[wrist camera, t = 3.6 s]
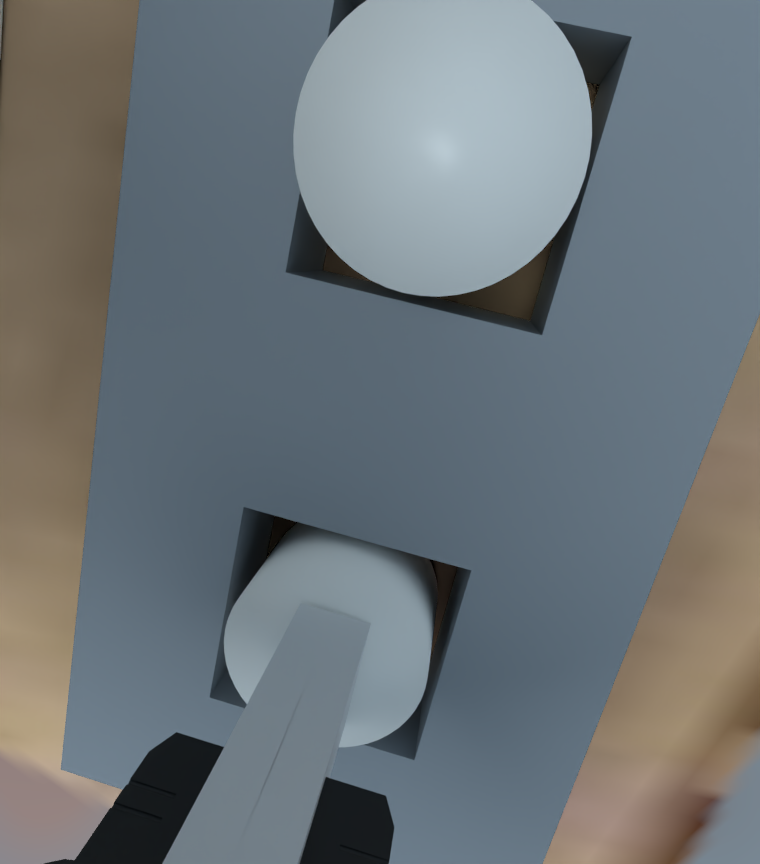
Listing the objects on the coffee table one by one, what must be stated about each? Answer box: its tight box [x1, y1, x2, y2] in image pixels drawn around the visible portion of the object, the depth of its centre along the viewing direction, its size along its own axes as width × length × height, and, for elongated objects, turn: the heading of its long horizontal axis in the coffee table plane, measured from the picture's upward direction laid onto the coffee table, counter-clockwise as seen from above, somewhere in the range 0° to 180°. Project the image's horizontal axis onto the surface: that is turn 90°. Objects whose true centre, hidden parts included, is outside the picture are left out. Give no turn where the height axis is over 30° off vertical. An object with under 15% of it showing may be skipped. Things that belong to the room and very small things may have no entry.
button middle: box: [293, 0, 592, 297], centre depth 11 cm, size 4×4×3 cm
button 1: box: [224, 522, 438, 747], centre depth 15 cm, size 4×4×3 cm
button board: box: [61, 0, 760, 864], centre depth 13 cm, size 32×12×3 cm, turn 167°
